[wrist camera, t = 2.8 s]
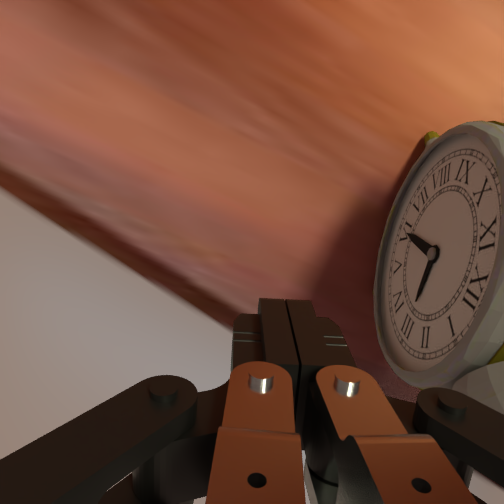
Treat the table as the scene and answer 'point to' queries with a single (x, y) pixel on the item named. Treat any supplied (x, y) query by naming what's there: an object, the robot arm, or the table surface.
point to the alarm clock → (447, 267)
